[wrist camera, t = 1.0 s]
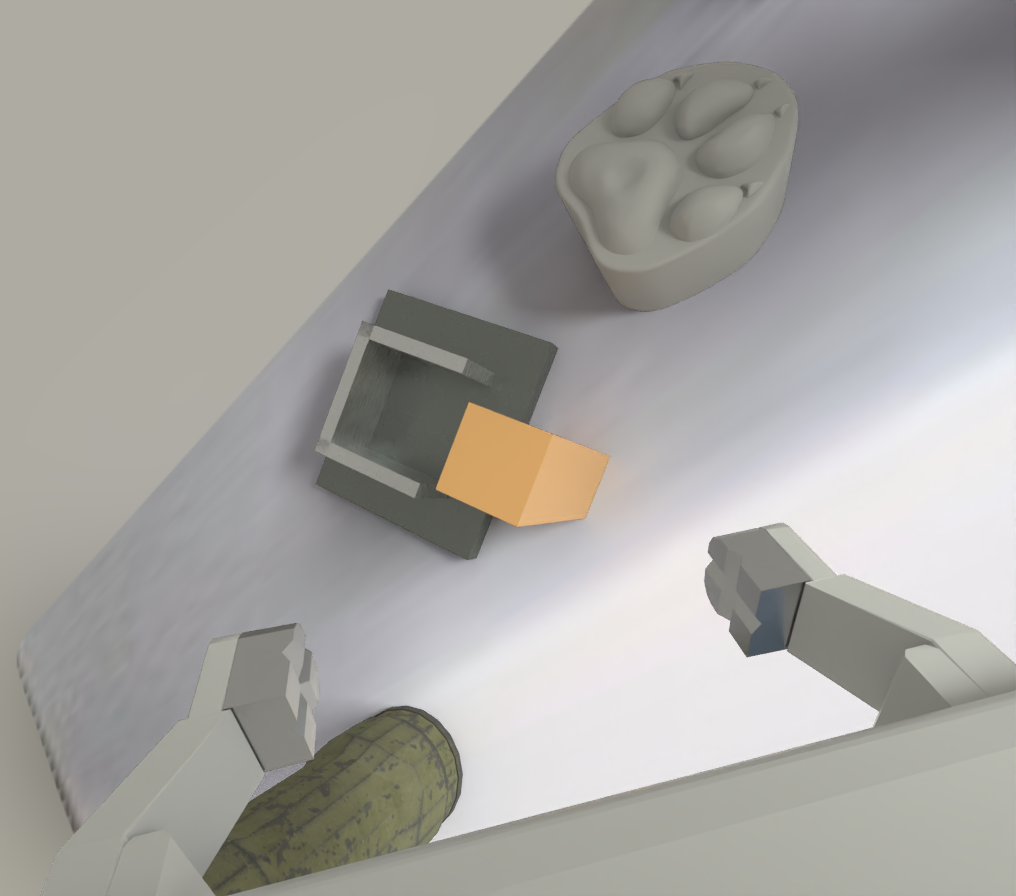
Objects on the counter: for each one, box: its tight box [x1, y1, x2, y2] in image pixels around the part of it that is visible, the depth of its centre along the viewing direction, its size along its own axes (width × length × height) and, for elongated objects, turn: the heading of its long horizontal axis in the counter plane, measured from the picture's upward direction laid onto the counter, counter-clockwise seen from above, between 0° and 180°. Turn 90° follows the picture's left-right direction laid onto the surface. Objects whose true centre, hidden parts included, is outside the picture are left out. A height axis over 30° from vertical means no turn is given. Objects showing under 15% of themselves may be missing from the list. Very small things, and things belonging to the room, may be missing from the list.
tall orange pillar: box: [436, 402, 610, 527], centre depth 34 cm, size 4×4×14 cm
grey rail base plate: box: [315, 289, 558, 560], centre depth 42 cm, size 14×16×6 cm
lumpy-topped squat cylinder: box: [555, 62, 798, 311], centre depth 35 cm, size 10×13×9 cm
